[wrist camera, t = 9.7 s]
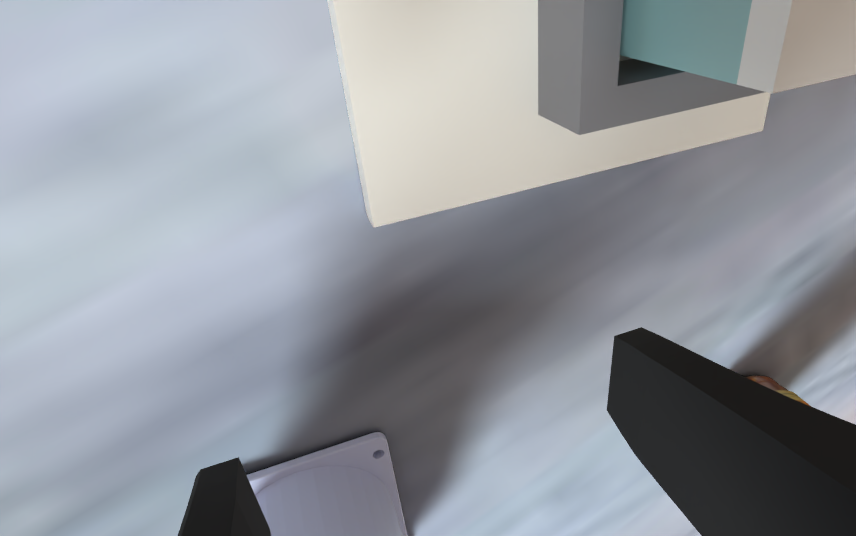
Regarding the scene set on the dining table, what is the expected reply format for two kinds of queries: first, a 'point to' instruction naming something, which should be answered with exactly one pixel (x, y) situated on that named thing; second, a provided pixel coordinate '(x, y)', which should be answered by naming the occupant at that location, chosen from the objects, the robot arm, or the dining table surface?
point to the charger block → (745, 39)
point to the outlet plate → (510, 99)
